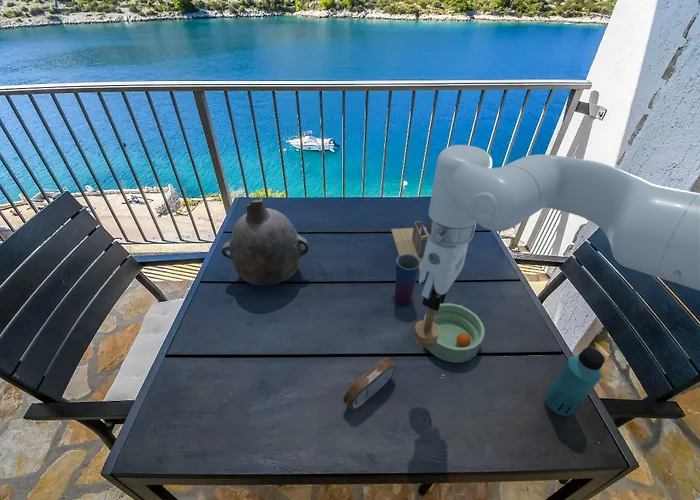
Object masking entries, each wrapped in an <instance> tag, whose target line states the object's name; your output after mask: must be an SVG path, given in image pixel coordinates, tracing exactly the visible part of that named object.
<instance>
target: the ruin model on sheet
mask: <svg viewBox="0 0 700 500" xmlns="http://www.w3.org/2000/svg"><path fill="white" fill-rule="evenodd" d="M390 230H391V233H392V236H393V240H394V244H395V246H396V250H397V252H398V257H399V256H400V255H403V254H411V255H414V256H416V257H417V258H419V260H420V267H419V271H420V269H421V264H422V260H423V256H424V252H425V247H426V244H427V241H428V237H429V236H428V235H427V233H426V226H424V225H423V224H422V221H421V220H420V221H419V220H418V221H417V220H416V221H414V222H413V227H404V228H401V227H400V228H391V229H390Z"/></svg>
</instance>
